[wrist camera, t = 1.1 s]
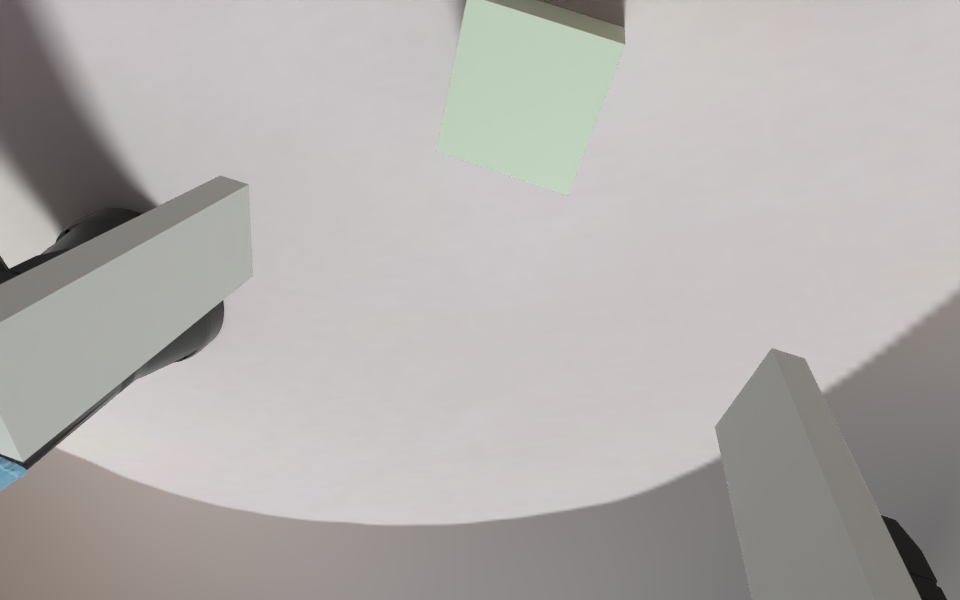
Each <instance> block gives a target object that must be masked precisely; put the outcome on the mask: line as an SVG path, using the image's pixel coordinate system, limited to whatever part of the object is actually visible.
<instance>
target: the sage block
mask: <svg viewBox="0 0 960 600" xmlns="http://www.w3.org/2000/svg"><path fill="white" fill-rule="evenodd" d="M624 47H625V27H621V26H618V25H615V24H612V23H609V22H606V21H602V20H599V19H596V18H593V17H590V16H587V15H583V14H580V13H577V12H574V11H571V10H567V9H564V8H561V7H558V6H555V5H552V4H548V3H545V2H542V1H539V0H466V5H465V10H464V15H463V20H462V25H461V30H460V35H459V39H458V44H457V49H456V54H455V59H454V64H453V69H452V74H451V79H450V84H449V88H448V93H447V98H446V103H445V108H444V113H443V118H442V123H441V128H440V133H439V138H438V142H437V147H436V152H439V153H442V154H445V155H448V156H451V157H454V158H457V159H460V160H463V161H466V162H468V163H471V164H474V165H477V166H480V167H483V168H486V169H489V170H492V171H495V172H498V173H501V174H504V175H507V176H510V177H513V178H516V179H519V180H522V181H525V182H528V183H531V184H534V185H537V186H540V187H543V188H546V189H549V190H552V191H555V192H558V193H561V194H564V195H567V196H568V195H569V192H570V190H571V187H572V184H573V182H574V179H575V176H576V174H577V171H578V168H579V166H580V163H581V160H582V158H583V155H584V153H585V150H586V147H587V145H588V142H589V139H590V137H591V134H592V131H593V129H594V126H595V123H596V121H597V118H598V115H599V113H600V110H601V108H602V105H603V102H604V100H605V97H606V94H607V92H608V89H609V86H610V84H611V81H612V78H613V76H614V73H615V71H616V68H617V65H618V63H619V60H620V57H621V55H622V52H623V49H624Z"/></svg>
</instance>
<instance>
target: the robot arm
mask: <svg viewBox="0 0 960 600" xmlns="http://www.w3.org/2000/svg"><path fill="white" fill-rule="evenodd" d="M252 276H253V269H252V248H251V226H250V205H249V184H245V183H242V182H239V181H236V180H233V179H229V178H226V177H223V176H219V177H217V178H215V179H213V180H211V181H209V182H206V183H204V184H202V185H200V186H198V187H196V188H194V189H192V190H190V191H188V192H186V193H184V194H182V195H180V196H178V197H176V198H174V199H172V200H170V201H168V202H166V203H164V204H162V205H160V206H158V207H156V208H154V209H152V210H150V211H148V212H146V213H144V214H139V213H136V212H133V211H129V210H123V209H105V210H100V211H97V212H95V213H93V214H91V215H88V216H86V217H84V218H82V219H79V220H77V221H75V222H74V223H72V224H70V225H69V226H68V227H67V228H65V230H64V231H63V232H62V233H61V234H60V235H59V237H58V238H57V240H56V243H55V244H54V245H52V246H51V247H49V248H48V249H47V250H46V251H44V252H43V253H42V254H41V255H38V256H35V257H33V258H31V259H29V260H27V261H25V262H23V263H21V264H18V265H16V266H14V267H12V268H10V269H9V268H8V267H7V265H6V264H5V262H4V261H3V259H2V258H1V256H0V491H1V490H2V489H4V488H5V487H7V486H8V485H9V484H11V483H12V482H14V481H15V480H16V479H19V478H21V477H23V476H24V475H25V474H26V473H27V470H28V469H29V468H30V467H32V466H33V465H34V464H35V463H36V462H38V461H39V460H40V459H41V458H42V457H43V456H45V455H46V454H47V453H48V452H49V451H51V450H52V449H53V448H54V447H55V446H57V445H58V444H59V443H60V442H61V441H63V440H64V439H65V438H66V437H67V436H69V435H70V434H71V433H72V432H73V431H75V430H76V429H77V428H78V427H79V426H81V425H82V424H83V423H84V422H85V421H86V420H88V419H89V418H90V417H91V416H92V415H94V414H95V413H96V412H97V411H98V410H100V409H101V408H102V407H103V406H104V405H106V404H107V403H108V402H109V401H110V400H112V399H113V398H114V397H115V396H116V395H117V394H119V393H120V392H121V391H122V390H124V389H125V388H126V387H127V386H128V385H130V384H131V383H132V382H133V381H135V380H136V379H139V378H141V377H143V376H146V375H148V374H150V373H152V372H154V371H156V370H158V369H161V368H163V367H165V366H167V365H169V364H171V363H173V362H179V361H182V360H185V359H188V358H190V357H192V356H194V355H195V354H197V353H198V352H200V351H201V350H202V349H203V348H204V347H205V346H207V345H208V344H209V343H210V342H211V341H212V340H213V339H214V338H215V337H216V336H217V335H218V333H219V331H220V329H221V327H222V323H223V303H222V301H223V300H224V299H225V298H226V297H227V296H229V295H230V294H231V293H232V292H234V291H235V290H236V289H237V288H239V287H240V286H241V285H242V284H244V283H245V282H246V281H247V280H248V279H250V278H251V277H252ZM715 429H716V434H717V438H718V443H719V448H720V453H721V457H722V462H723V467H724V472H725V476H726V481H727V486H728V491H729V495H730V500H731V505H732V510H733V514H734V519H735V524H736V528H737V533H738V538H739V543H740V547H741V552H742V557H743V562H744V567H745V571H746V576H747V581H748V585H749V590H750V595H751V600H947V599H946V597H945V595H944V593H943V591H942V589H941V588H940V587H937V585H936V583H937V580H936V578H935V576H934V574H933V572H932V570H931V568H930V566H929V564H928V563H927V561H926V559H925V557H924V555H923V553H922V551H921V550H920V548H919V547H918V546H917V545H916V544H915V542H914V541H913V540H912V539H911V538H910V537H909V535H908V534H907V533H906V532H905V531H904V529H903V528H902V527H901V526H900V525H899V523H898V522H897V521H896V520H894V519H891V518H888V517H885V516H882V515H880V513H879V511H878V509H877V507H876V505H875V502H874V500H873V498H872V496H871V494H870V492H869V490H868V488H867V486H866V484H865V482H864V480H863V478H862V476H861V474H860V472H859V469H858V467H857V465H856V463H855V461H854V459H853V457H852V455H851V453H850V451H849V449H848V447H847V445H846V443H845V441H844V438H843V436H842V434H841V432H840V430H839V428H838V426H837V424H836V422H835V420H834V418H833V416H832V414H831V412H830V410H829V407H828V406H827V403H826V401H825V399H824V397H823V395H822V393H821V391H820V389H819V387H818V385H817V383H816V381H815V379H814V376H813V374H812V372H811V370H810V368H809V366H808V364H807V362H806V360H805V359H804V358H801V357H798V356H795V355H792V354H788V353H785V352H782V351H779V350H776V349H771V350H770V351H769V353H768V354H767V356H766V357H765V358H764V360H763V361H762V363H761V364H760V365H759V367H758V368H757V370H756V371H755V372H754V374H753V375H752V376H751V378H750V379H749V381H748V382H747V383H746V385H745V386H744V388H743V389H742V390H741V392H740V393H739V395H738V396H737V397H736V399H735V400H734V401H733V403H732V404H731V406H730V407H729V408H728V410H727V411H726V413H725V414H724V415H723V417H722V418H721V419H720V421H719V422H718V424H717V425H716V426H715Z"/></svg>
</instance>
